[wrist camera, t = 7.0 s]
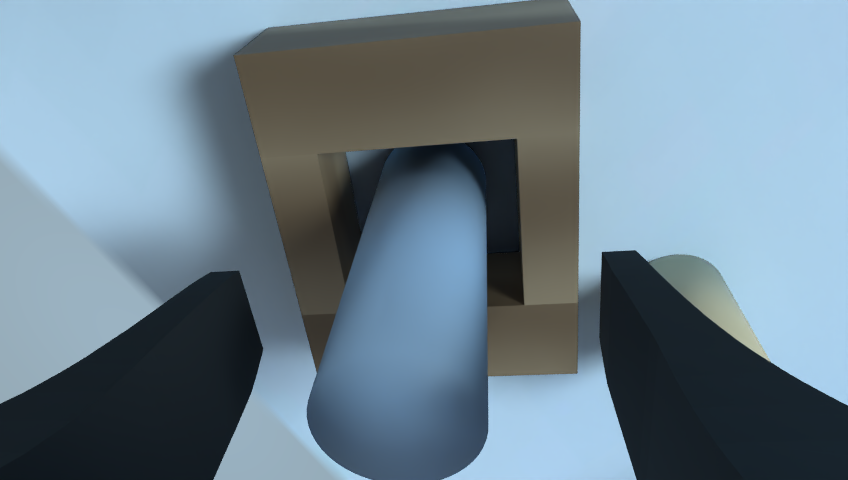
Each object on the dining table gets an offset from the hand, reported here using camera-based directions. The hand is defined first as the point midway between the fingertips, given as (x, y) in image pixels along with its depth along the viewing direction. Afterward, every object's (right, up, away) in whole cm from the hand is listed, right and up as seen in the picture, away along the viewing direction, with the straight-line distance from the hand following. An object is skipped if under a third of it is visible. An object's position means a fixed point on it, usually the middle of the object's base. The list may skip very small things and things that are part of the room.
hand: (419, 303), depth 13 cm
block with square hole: (0, +3, +4) cm, 5 cm away
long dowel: (0, +3, +4) cm, 5 cm away
